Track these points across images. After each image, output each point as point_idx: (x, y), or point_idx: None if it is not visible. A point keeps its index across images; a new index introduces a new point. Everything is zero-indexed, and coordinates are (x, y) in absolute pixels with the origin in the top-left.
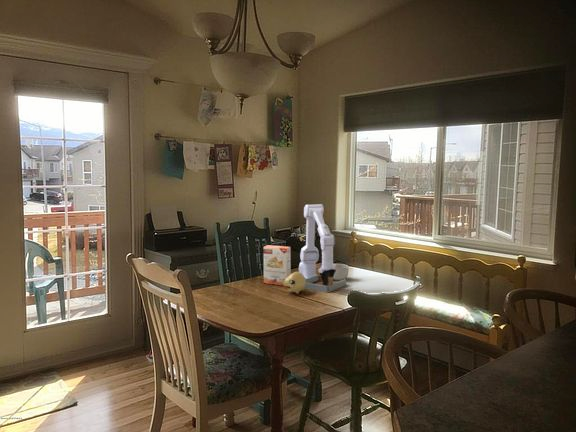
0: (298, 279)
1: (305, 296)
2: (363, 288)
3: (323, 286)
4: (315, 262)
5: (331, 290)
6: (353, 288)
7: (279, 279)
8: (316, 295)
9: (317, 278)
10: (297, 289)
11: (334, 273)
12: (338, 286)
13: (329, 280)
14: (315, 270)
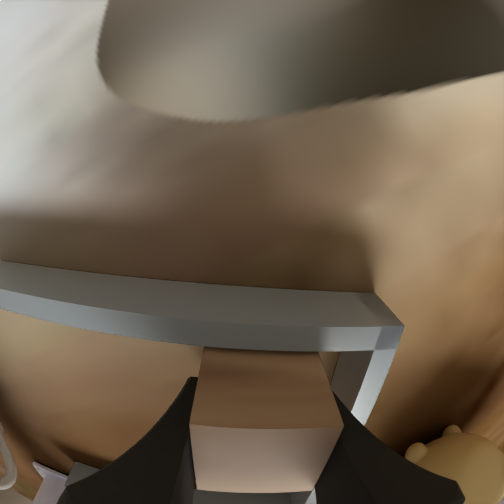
0: (493, 486)
1: (496, 362)
2: (26, 52)
3: (381, 380)
4: None
5: (305, 293)
6: (55, 123)
7: None
8: (475, 324)
9: (79, 474)
10: (479, 435)
11: (111, 468)
12: (125, 285)
13: (328, 405)
14: (42, 500)
